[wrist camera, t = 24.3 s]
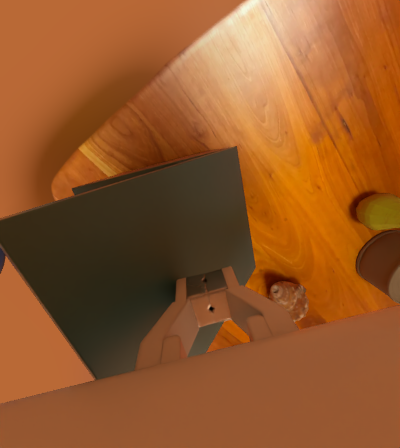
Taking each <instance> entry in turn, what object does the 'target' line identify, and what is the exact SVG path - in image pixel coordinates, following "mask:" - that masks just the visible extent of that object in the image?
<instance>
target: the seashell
mask: <svg viewBox="0 0 400 448" xmlns="http://www.w3.org/2000/svg"><path fill="white" fill-rule="evenodd" d="M305 292H306V289H305V288H304V287H303V286H302V285H300V284H298V285H296V284H293V283H291V282H287V281H279V282H276V283H274V284H273V285H272V286H271V288H270V294H269V298H270V299H271V300H272V301H273V302H275V303H277V304H279V305H281V306H283V307H285V309H286V310H287V312H288V313H289V315H290V316H291V318H292V320H293V321H294V322H295V321H299V320H300V319H301V318H302V317H305V315H306V312H307V311H308V303H309V301H308V298H307V296H306V295H305Z"/></svg>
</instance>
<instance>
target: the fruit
mask: <svg viewBox="0 0 400 448" xmlns="http://www.w3.org/2000/svg"><path fill="white" fill-rule="evenodd" d="M356 213H357V217H358V220H359V221H361V222H362V223H363V224H364V225H365V226H366V227H367V228H370V229H372V230H383V229H390V228H400V199H399V198H398V197H397V196H395V195H393V194H390V193H382V194H373V195H371V196H369V197H367V198H365V199H363V200H361V201H360V203H359V204H358V206H357V208H356Z"/></svg>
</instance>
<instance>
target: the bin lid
mask: <svg viewBox="0 0 400 448" xmlns="http://www.w3.org/2000/svg"><path fill="white" fill-rule="evenodd" d="M0 248H1V249H2V251H3V252H4V253H5V255H6V256H7V257H8V259H9V260H10V262H11V263H12V265H13V266H14V267H15V269H16V270H17V272H18V273H19V274H20V276H21V277H22V279H23V280H24V281H25V283H26V284H27V286H28V287H29V288H30V290H31V291H32V293H33V294H34V295H35V297H36V298H37V300H38V301H39V303H40V304H41V305H42V306H43V308H44V310H45V311H46V312H47V314H48V315H49V316H50V318H51V319H52V321H53V322H54V324H55V325H56V326H57V328H58V329H59V331H60V332H61V333H62V335H63V336H64V337H65V339H66V340H67V342H68V343H69V345H70V346H71V347H72V349H73V350H74V351H75V353H76V354H77V356H78V357H79V359H80V360H81V361H82V363H83V364H84V365H85V367H86V368H87V370H88V371H89V372H90V374H91V375H92V377H93V378H94V379H95V380H99V379H103V378H107V377H111V376H115V375H119V374H123V373H127V372H131V371H134V370H135V365H136V361H137V357H138V352H139V348H140V344H141V342H142V340H143V339H144V338H145V337H146V335H147V334H148V333H149V331H150V330H151V329H152V328H153V326H154V325H155V324H156V323H157V321H158V320H159V319H160V318H161V316H162V315H163V314H164V312H165V311H166V310H167V309H168V307H169V306H170V305H171V304H172V302H175V295H176V281H177V280H178V279H182V278H186V277H190V276H195V275H199V274H203V273H208V272H212V271H216V270H220V269H222V268H226V267H229V266H231V267H232V269H233V272H234V274H235V276H236V279H237V281H238V283H239V286H241V285H243V286H245V285H246V283H247V281H248V280H249V278H250V276H251V274H252V273H253V271H254V269H255V260H254V254H253V248H252V241H251V235H250V228H249V222H248V216H247V209H246V203H245V196H244V190H243V183H242V177H241V171H240V164H239V158H238V151H237V146H235V147H231V148H227V149H224V150H221V151H217V152H214V153H211V154H208V155H204V156H201V157H198V158H195V159H191V160H188V161H185V162H182V163H178V164H175V165H172V166H169V167H165V168H162V169H159V170H156V171H152V172H149V173H146V174H143V175H139V176H136V177H133V178H130V179H126V180H123V181H120V182H117V183H113V184H110V185H107V186H104V187H100V188H97V189H94V190H91V191H87V192H84V193H81V194H78V195H74V196H71V197H68V198H65V199H61V200H58V201H55V202H52V203H49V204H45V205H42V206H39V207H35V208H32V209H29V210H26V211H22V212H19V213H16V214H13V215H9V216H6V217H3V218H0ZM223 322H224V321H223ZM223 322H218V323H214V324H210V325H207V326H203V327H200V328H199V331H198V333H197V335H196V338H195V340H194V342H193V345H192V347H191V349H190V352H189V354H188V356H187V357H191V356H195V355H199V354H203V353H206V351H207V350H208V348H209V346H210V345H211V343H212V341H213V339H214V338H215V336H216V334H217V333H218V331H219V329H220V327H221V326H222V324H223Z"/></svg>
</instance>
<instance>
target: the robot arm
mask: <svg viewBox="0 0 400 448" xmlns="http://www.w3.org/2000/svg"><path fill="white" fill-rule="evenodd" d="M227 320H232V321H234V322H235V323H236V324H237V325H238V326H239V327H240V328H241V329H242V330H243V331H244V332H245V333H247V334H248V335H249V338H250V342H248V343H244V344H239V345H235V346H231V347H227V348H223V349H219V350H215V351H211V352H207V353H203V354H199V355H195V356H191V357H187V356H188V354H189V352H190V349H191V347H192V345H193V342H194V340H195V338H196V335H197V333H198V331H199V328H200V327H203V326H207V325H210V324H214V323H218V322H223V321H227ZM0 448H400V305H397V306H393V307H389V308H385V309H381V310H377V311H373V312H369V313H365V314H361V315H356V316H352V317H348V318H344V319H340V320H336V321H332V322H328V323H324V324H320V325H317V326H313V327H309V328H305V329H300V330H299V329H298V327H297V326H296V324H295V323H294V321H293V320H292V318H291V316H290V315H289V313H288V312H287V310H286V309H285V307H283V306H281V305H279V304H277V303H275V302H273V301H272V300H270V299H268V298H266V297H264V296H262V295H260V294H258V293H256V292H255V291H253V290H251V289H249V288H247V287H245V286H243V285H241V286H239V283H238V281H237V279H236V276H235V274H234V272H233V269H232V267H231V266H229V267H226V268H222V269H220V270H216V271H212V272H208V273H203V274H199V275H195V276H190V277H186V278H182V279H178V280H177V281H176V295H175V302H172V304H171V305H170V306H169V307H168V309H167V310H166V311H165V312H164V314H163V315H162V316H161V318H160V319H159V320H158V321H157V323H156V324H155V325H154V326H153V328H152V329H151V330H150V331H149V333H148V334H147V335H146V337H145V338H144V339H143V340H142V342H141V344H140V348H139V352H138V357H137V361H136V365H135V370H134V371H131V372H127V373H123V374H119V375H115V376H111V377H107V378H103V379H99V380H95V381H91V382H87V383H83V384H78V385H74V386H70V387H67V388H63V389H58V390H54V391H50V392H47V393H42V394H38V395H34V396H30V397H26V398H22V399H18V400H14V401H10V402H6V403H2V404H0Z"/></svg>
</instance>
